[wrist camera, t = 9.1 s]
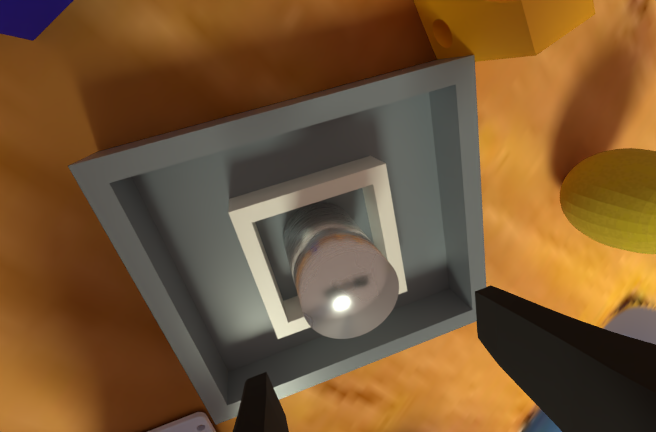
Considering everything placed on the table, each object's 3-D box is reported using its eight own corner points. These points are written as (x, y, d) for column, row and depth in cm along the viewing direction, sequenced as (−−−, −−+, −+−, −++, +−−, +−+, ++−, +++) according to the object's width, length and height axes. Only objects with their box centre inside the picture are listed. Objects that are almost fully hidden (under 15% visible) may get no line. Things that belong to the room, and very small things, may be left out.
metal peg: (361, 252, 20) (408, 314, 14) (297, 278, 19) (320, 353, 14) (341, 190, 18) (386, 235, 13) (271, 218, 18) (286, 276, 12)
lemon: (614, 154, 23) (790, 186, 16) (571, 227, 24) (714, 288, 17) (558, 127, 21) (729, 149, 14) (516, 208, 22) (649, 268, 15)
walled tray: (458, 289, 24) (487, 316, 21) (218, 381, 21) (215, 424, 19) (437, 59, 18) (474, 54, 15) (97, 151, 15) (68, 166, 12)
